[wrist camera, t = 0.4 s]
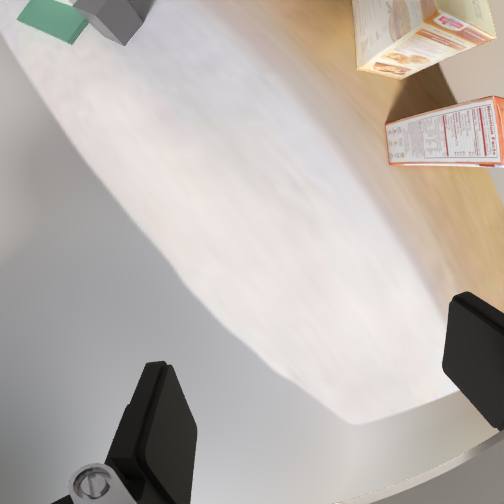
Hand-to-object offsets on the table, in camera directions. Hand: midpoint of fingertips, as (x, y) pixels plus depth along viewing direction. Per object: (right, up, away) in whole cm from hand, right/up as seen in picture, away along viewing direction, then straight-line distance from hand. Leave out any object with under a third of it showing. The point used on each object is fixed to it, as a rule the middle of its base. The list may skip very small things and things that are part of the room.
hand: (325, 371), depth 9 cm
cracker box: (+22, +18, +27) cm, 39 cm away
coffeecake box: (+15, +34, +23) cm, 44 cm away
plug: (-19, +33, +21) cm, 43 cm away
